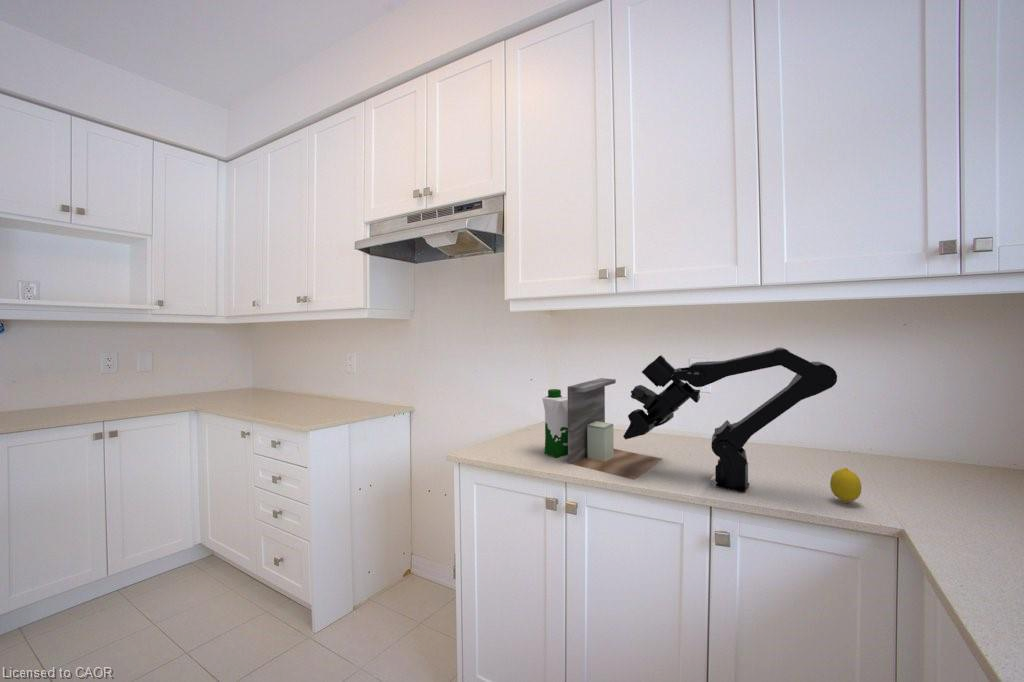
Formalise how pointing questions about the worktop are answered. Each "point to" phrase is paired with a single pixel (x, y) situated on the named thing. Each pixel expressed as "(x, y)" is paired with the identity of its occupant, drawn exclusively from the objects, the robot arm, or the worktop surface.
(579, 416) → the dock
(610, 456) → the pale green lidded box
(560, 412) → the milk carton
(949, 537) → the worktop surface
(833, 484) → the lemon
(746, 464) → the robot arm
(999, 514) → the worktop surface
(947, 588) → the worktop surface
